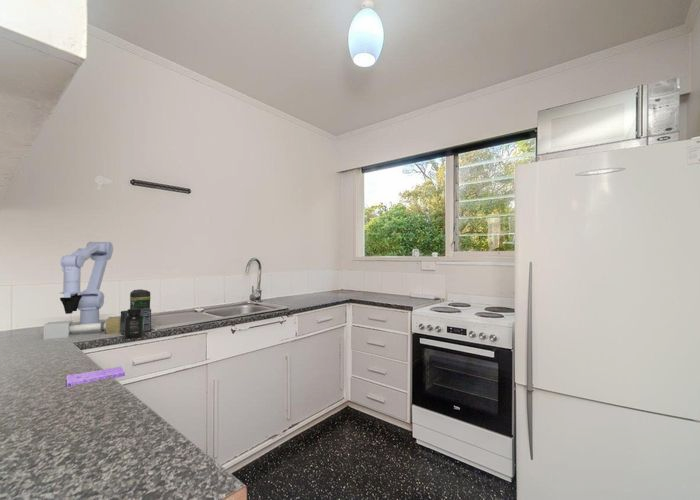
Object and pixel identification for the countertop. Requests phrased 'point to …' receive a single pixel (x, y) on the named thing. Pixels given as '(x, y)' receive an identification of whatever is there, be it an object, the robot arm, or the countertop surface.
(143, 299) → the coffee jar
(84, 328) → the tube
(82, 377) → the sponges
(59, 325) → the light grey block
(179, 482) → the countertop surface
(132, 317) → the supplement bottle
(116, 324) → the socket
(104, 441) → the countertop surface
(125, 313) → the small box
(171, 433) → the countertop surface
